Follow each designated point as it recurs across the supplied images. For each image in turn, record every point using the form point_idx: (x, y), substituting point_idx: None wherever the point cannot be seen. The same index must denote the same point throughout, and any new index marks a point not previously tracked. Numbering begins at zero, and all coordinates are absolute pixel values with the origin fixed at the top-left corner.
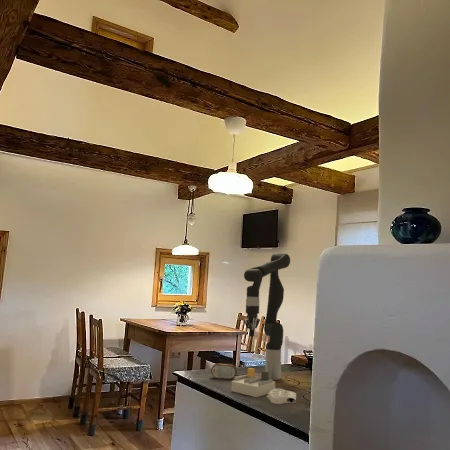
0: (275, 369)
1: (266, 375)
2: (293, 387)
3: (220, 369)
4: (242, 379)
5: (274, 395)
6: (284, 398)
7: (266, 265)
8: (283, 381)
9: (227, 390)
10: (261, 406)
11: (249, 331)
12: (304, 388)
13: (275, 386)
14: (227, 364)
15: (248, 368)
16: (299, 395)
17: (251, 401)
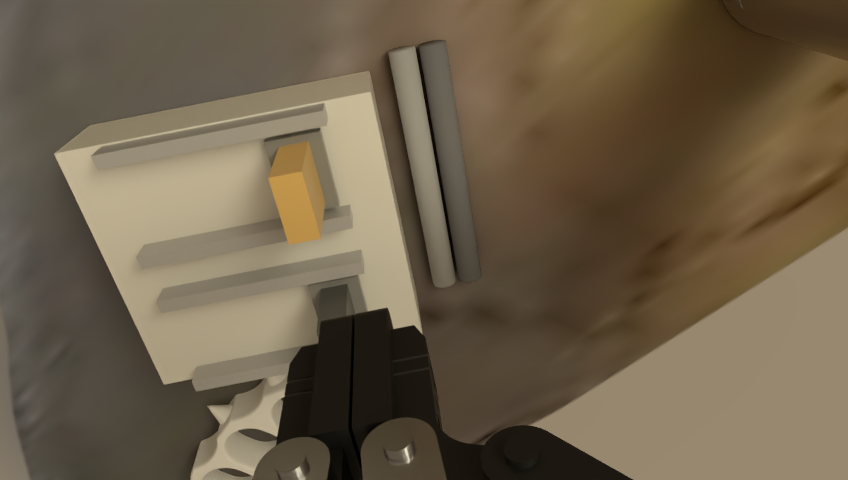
0: (803, 45)
1: None
2: (631, 275)
3: None
4: (202, 151)
5: (226, 467)
6: None
7: None
8: (755, 100)
9: (65, 91)
10: (86, 475)
11: (281, 421)
12: (667, 326)
13: (467, 268)
14: None
15: (271, 185)
16: (479, 419)
17: (86, 389)
